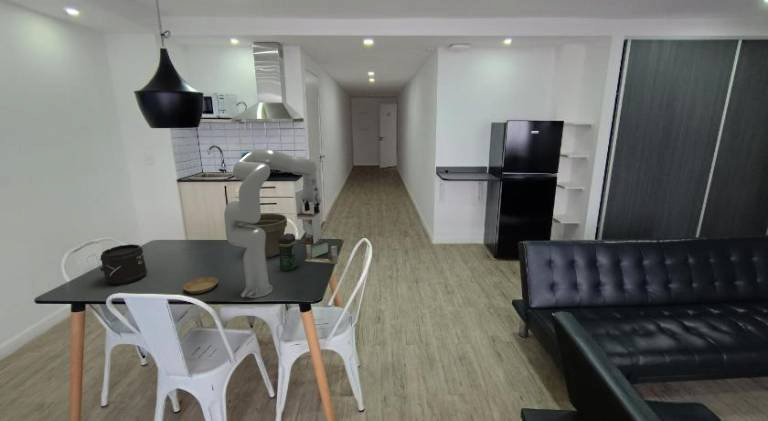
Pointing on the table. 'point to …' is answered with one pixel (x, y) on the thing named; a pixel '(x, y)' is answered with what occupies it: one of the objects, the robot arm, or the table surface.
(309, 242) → the display case
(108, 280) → the black round bag
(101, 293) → the table surface
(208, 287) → the plant saucer
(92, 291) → the table surface
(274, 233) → the plant pot
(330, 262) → the gate frame
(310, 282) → the table surface
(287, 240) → the coffee jar
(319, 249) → the gate
